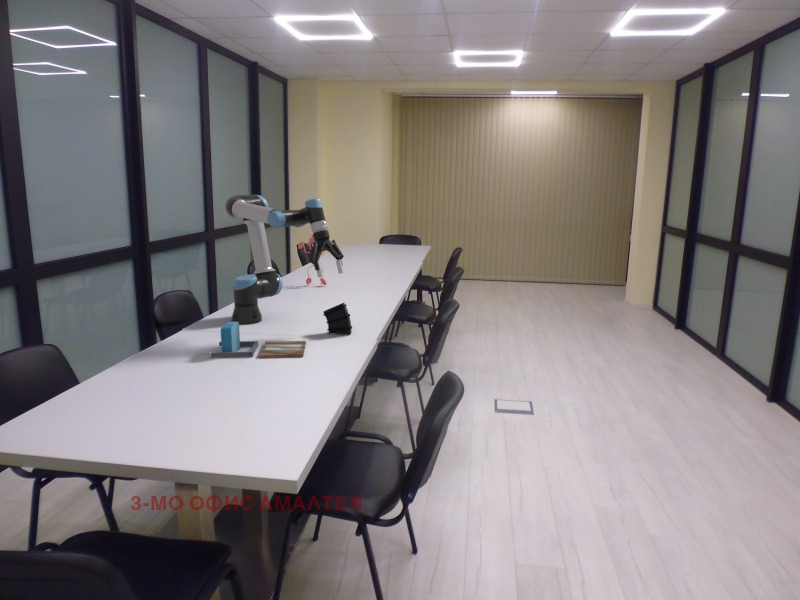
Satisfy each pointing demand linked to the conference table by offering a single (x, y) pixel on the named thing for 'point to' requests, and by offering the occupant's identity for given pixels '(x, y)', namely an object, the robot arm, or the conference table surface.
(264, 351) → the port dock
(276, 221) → the robot arm
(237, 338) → the data package
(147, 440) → the conference table surface
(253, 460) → the conference table surface
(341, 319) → the magazine
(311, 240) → the figurine
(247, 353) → the grey u-shaped frame
